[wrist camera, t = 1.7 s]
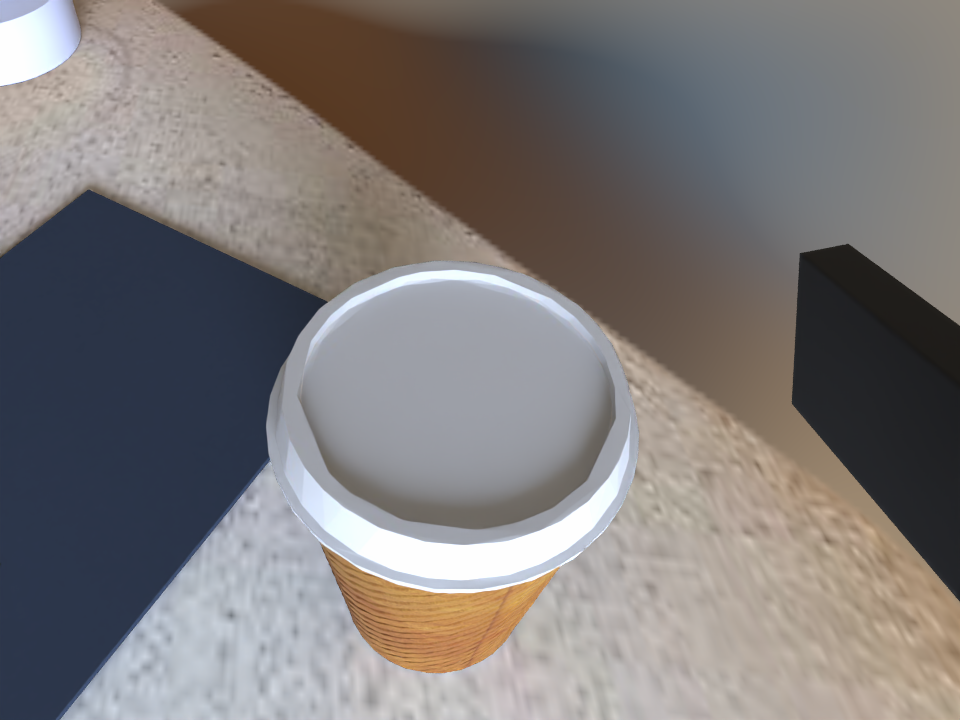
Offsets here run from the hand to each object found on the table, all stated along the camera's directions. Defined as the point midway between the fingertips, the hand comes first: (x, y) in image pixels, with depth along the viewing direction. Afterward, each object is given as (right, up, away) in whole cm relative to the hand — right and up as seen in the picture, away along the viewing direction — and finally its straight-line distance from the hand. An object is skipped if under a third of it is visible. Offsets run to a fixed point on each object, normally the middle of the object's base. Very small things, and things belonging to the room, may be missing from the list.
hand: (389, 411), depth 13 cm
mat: (-15, -2, +20) cm, 25 cm away
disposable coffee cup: (0, -7, +18) cm, 19 cm away
